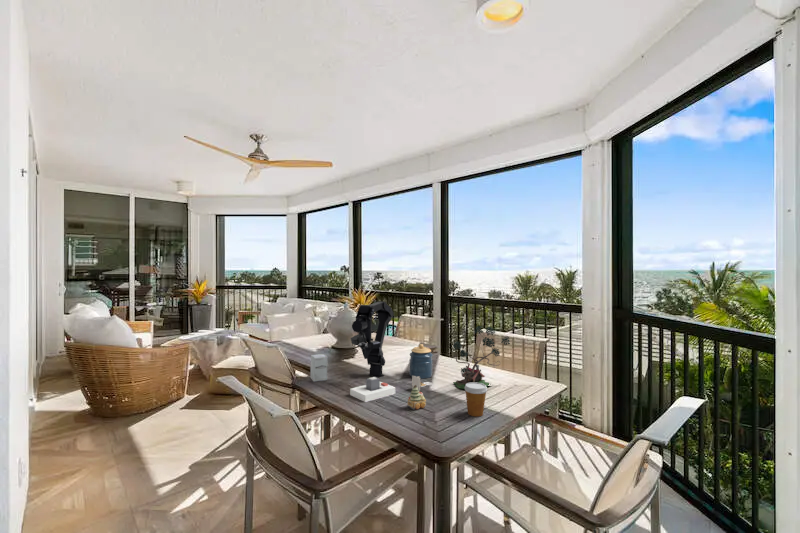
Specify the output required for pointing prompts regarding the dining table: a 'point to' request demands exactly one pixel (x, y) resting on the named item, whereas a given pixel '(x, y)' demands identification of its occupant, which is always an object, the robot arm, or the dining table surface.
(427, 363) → the canister
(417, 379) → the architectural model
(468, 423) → the dining table surface
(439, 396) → the dining table surface
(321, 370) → the supplement box
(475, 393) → the disposable coffee cup
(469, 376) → the bonsai tree
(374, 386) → the plug
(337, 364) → the dining table surface
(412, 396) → the ornament
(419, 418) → the dining table surface
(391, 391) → the socket
